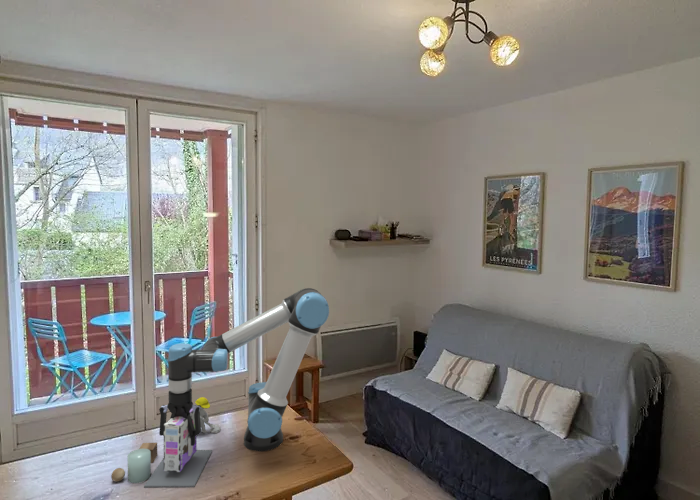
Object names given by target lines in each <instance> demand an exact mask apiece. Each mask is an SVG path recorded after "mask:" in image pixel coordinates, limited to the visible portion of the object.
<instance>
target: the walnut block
mask: <svg viewBox="0 0 700 500" xmlns="http://www.w3.org/2000/svg"><path fill="white" fill-rule="evenodd" d="M138 449H149V450H150V451H151V464H154V462H155V460H156V459H157V457H158V442H143V443H142V444H141V445H140V446H139V448H138Z"/></svg>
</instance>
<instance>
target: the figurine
mask: <svg viewBox="0 0 700 500" xmlns="http://www.w3.org/2000/svg"><path fill="white" fill-rule="evenodd" d="M194 403H195V405H196V406H198V405H201V409H200V422H201V432H202V433H203V434H206V433H208V431H207V429H206V425H207V426H208V427H210V429H209V432H210V433H211V434H218V433H220V431H221V430H222V429H221V426H220V425H219V424H216V423H215V424H213V423H210V422H209V421H210V419H209V414H208V412H207V411H206V410H205V409H209V408H210V407H211V405H210V403H209V400H208V399H207V398H206V397H204V396H202V397H198V399H196V400H195V402H194ZM196 437H197V435H196Z"/></svg>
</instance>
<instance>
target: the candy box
mask: <svg viewBox="0 0 700 500" xmlns="http://www.w3.org/2000/svg"><path fill="white" fill-rule="evenodd" d="M194 413H195V412H193V409H191V410H190V416H191V419H192V422H193V425H194V428H195V420H194ZM189 436H190V434H189V431H188V419H186V418H183V417H181V416H178V417H174V418H171V419H170V418H169V419H168V420H166V423H165V424H164V436H163V458H164V471H170V472H180V471H181V470H182V469H183V468H184V466H185V465H186V464H187V462H188V461H189V460H190V459H191V457H192V456H193V455H194V453H195V452H196V451H197V450H198V449H197V438H196V439H195V441H196V442H195V444H194V446H193V452H192V454H191V456H188V437H189Z"/></svg>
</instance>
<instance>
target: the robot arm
mask: <svg viewBox="0 0 700 500" xmlns="http://www.w3.org/2000/svg"><path fill="white" fill-rule="evenodd" d="M329 306H330V305H329V304H328V301H327V300H326V298H325V297H324V296H323V295H322V294H321V292H320V291H318V290H316V289H315V288H311V287H307V288H305V287H304V288H302V289H300V290H297V291H296V292H295V293H293V294H291V295H289V296H287V297H285V298H284V299H282V301H281V303H280V304H278V305H276V306H274V307H272V308H269V309H268V310H266V311H265V312H263V313H261V314H259V315H257V316H254V317H252V318H251V319H249V320H247V321H245V322H243V323H241V324H239V325H237V326H235V327H233V328H231V329H230V330H227V331H226V332H224V333H222V334H220V335H218V336H212V337H209V339H207V340H206V342H205V343H204V345H203V349H193V347H192V346H193V345H192V344H190V343H184V342H183V343H175V344H173V345H171V346H170V347H169V349H168V356H167V357H168V359H167V362H168V383H167V384H168V386H167V387H168V403H167V404H166V405H165V404H162V405H161V407H159V409H158V410H159V414H160V418H159V419H160V421H159V436H163V437H164V424H165V423H166V422H167V416H168V415H167V413H168V410H169V412H170V413H171V415H170V417H169V419H171V418H174V417H178V416H181V417H183V418H186V419H188V431H189V434H190V436H189V437H188V456H191V454H192V452H193V446H194V444H195V442H196V443H197V436H199V435H200V433H201V432H202V428H201V422H200V409H201V405H198V406H197V405H196V404H194V403H193V390H192V389H193V388H192V385H193V380H192V379H193V373H210V372H215V373H217V372H223V371H227V369H228V362H229V359H228V358H229V354H230V353H232V352H233V351H235V350H237V349H240V348H241V347H243V346H245V345H246V344H248V343H251V342H252V341H254V340H256V339H258V338H260V337H262V336H264V335H266V334H267V333H270V332H272V331H273V330H274V331H275V330H276V329H277V328H279V327H282V326H283V325H285V324H287V323H288V325H289V329H288V331H287V334H286V337H285V338H284V341H283V344H281V348H280V350H279V352H278V355H277V356H276V359H275V362H274V364H273V367H272V369H271V371H270V373H269V376H268V377H267V379H266V380H267V381H264V382H263V381H261V382H256V383H253V384H250V385H249V387H248V391H247V394H248V407H247V408H248V410H247V421H246V422H247V423H246V424H247V426H246V430H245V433H244V437H243V445H244V447H245V448H246V449H247V450H250V451H252V452H268V450H269V451H271V449H272V450H275V449H277V448H279V447H280V446H281V445H282V444H283V443H284V434H283V431H282V425H283V416H284V413H285V411H286V409H287V406H288V404H289V401H288V399H287V396H288V393H289V391H290V389H291V386H292V383H293V382H294V380H295V377H296V374H297V372H298V370H299V368H300V366H301V363H302V360H303V358H304V356H305V354H306V351H307V349H308V346H309V344H310V342H311V339H312V338H313V337H314V336H316V335H318V334H319V331H320V329H321V326H324V325H325V323H326V322H327V320H328V318H329V314H330V307H329ZM191 409H193V412H195V413H194V420H195V428H194V425H193V422H192V419H191V416H190V410H191ZM196 435H197V436H196ZM195 439H196V441H195ZM281 443H282V444H281ZM280 444H281V445H280ZM279 445H280V446H279ZM278 446H279V447H278ZM276 447H277V448H276ZM274 448H275V449H274Z"/></svg>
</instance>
